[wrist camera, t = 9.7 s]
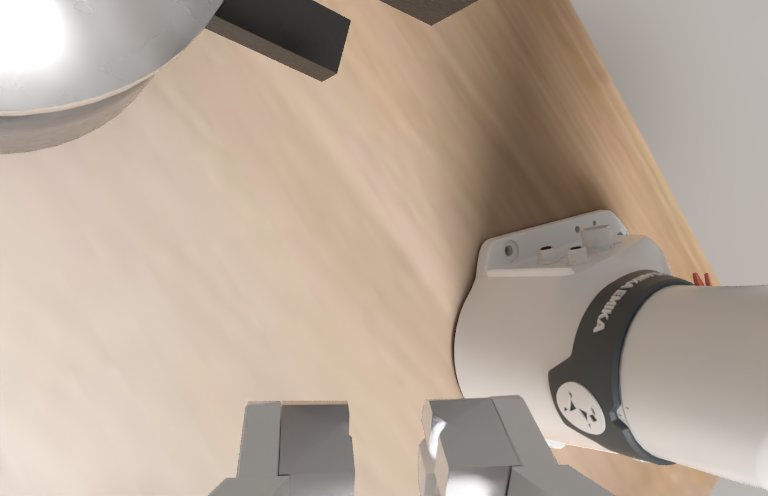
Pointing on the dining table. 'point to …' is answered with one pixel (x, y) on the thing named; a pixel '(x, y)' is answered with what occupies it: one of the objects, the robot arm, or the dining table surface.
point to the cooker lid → (110, 45)
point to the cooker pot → (231, 20)
